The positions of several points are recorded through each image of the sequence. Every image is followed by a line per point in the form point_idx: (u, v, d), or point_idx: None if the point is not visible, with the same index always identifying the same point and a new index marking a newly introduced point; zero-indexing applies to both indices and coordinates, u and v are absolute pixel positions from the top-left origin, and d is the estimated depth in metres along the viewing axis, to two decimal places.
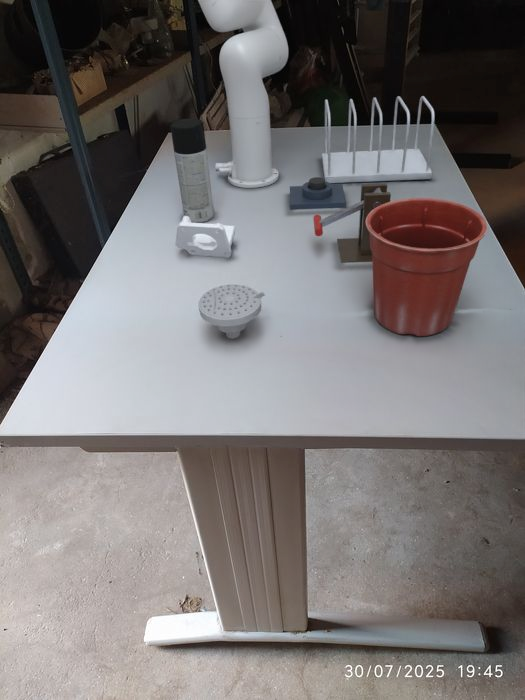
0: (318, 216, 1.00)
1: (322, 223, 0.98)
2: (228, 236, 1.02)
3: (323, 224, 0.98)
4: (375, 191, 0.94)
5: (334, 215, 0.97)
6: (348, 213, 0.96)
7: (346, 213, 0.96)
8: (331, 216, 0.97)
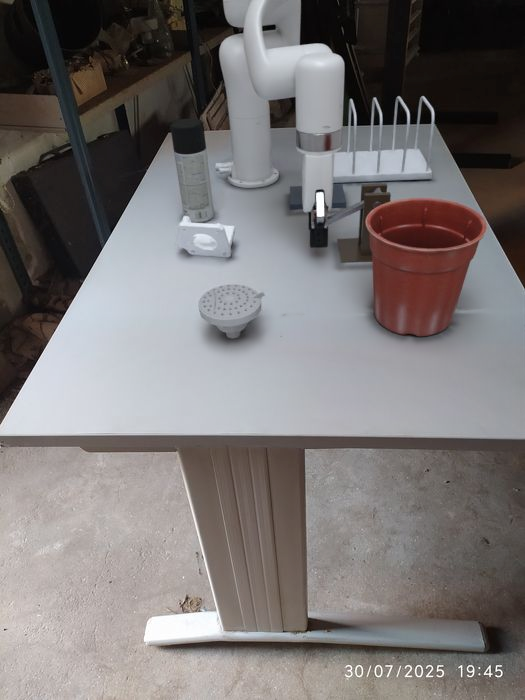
0: None
1: None
2: (228, 236, 1.02)
3: None
4: (375, 191, 0.94)
5: (334, 215, 0.97)
6: (348, 213, 0.96)
7: (346, 213, 0.96)
8: (331, 216, 0.97)
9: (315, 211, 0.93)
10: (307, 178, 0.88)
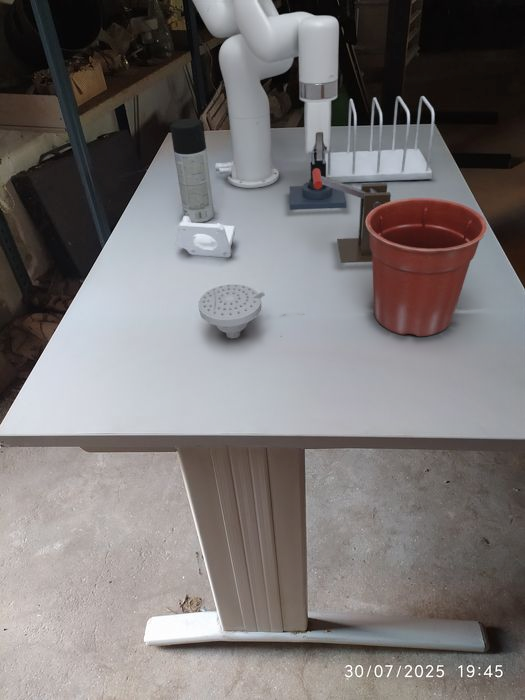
0: None
1: (322, 180, 0.93)
2: (228, 236, 1.02)
3: (322, 182, 0.93)
4: None
5: (336, 182, 0.93)
6: (348, 191, 0.94)
7: (346, 190, 0.93)
8: (333, 181, 0.93)
9: (315, 152, 1.12)
10: (308, 122, 1.06)
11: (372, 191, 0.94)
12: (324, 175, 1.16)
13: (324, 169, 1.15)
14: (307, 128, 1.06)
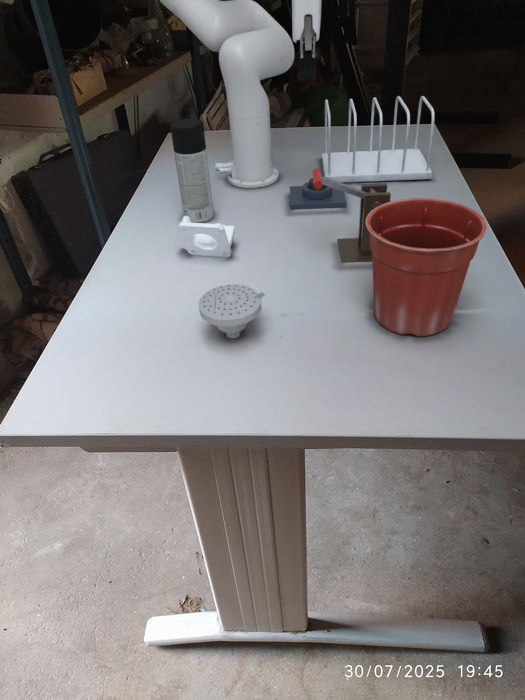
0: None
1: (322, 180, 0.93)
2: (228, 236, 1.02)
3: (322, 182, 0.93)
4: None
5: (336, 182, 0.93)
6: (348, 191, 0.94)
7: (346, 190, 0.93)
8: (333, 181, 0.93)
9: (304, 43, 1.01)
10: (296, 2, 0.95)
11: (372, 191, 0.94)
12: (314, 72, 1.05)
13: (314, 65, 1.05)
14: (295, 10, 0.96)
